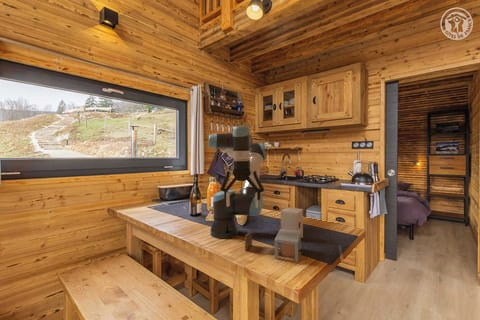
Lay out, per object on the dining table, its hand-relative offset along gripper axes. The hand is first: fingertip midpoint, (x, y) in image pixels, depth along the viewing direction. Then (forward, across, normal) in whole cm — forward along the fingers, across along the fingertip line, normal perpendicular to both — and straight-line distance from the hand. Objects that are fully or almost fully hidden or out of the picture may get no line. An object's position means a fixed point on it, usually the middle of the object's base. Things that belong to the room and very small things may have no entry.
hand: (242, 206), depth 103 cm
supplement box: (+20, +22, +15) cm, 33 cm away
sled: (+19, +14, -4) cm, 24 cm away
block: (+18, +21, -5) cm, 28 cm away
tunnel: (+19, +21, -5) cm, 29 cm away
